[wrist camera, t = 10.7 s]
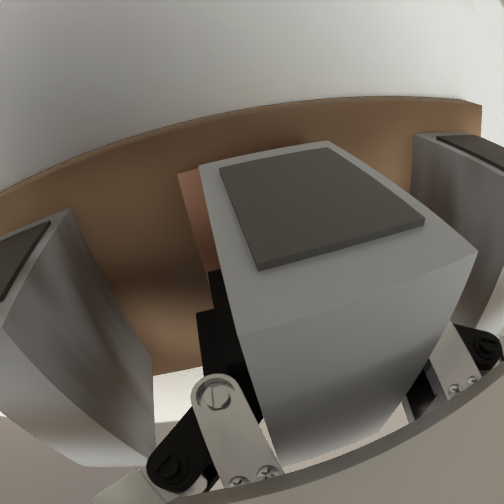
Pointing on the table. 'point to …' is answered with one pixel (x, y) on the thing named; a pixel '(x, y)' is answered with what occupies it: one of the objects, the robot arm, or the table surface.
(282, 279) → the grey rectangular brick
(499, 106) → the table surface
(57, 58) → the table surface
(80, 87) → the table surface
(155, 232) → the wooden board with blocks
